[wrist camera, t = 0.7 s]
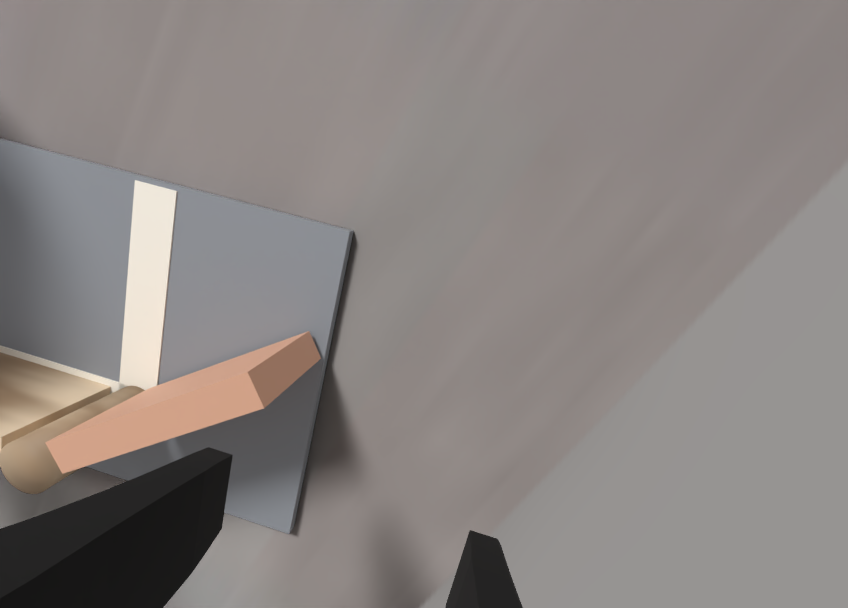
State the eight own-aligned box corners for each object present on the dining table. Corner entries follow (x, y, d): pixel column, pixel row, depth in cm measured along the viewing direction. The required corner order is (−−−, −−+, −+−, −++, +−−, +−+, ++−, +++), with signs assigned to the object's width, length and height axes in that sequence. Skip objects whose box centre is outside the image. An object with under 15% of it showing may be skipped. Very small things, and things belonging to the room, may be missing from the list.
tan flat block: (161, 413, 19) (62, 473, 14) (148, 388, 19) (44, 442, 14) (321, 358, 17) (264, 408, 13) (308, 331, 17) (247, 372, 13)
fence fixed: (-6, 380, 20) (-155, 431, 15) (-6, 341, 20) (-159, 381, 15) (155, 432, 19) (50, 501, 15) (159, 392, 19) (52, 450, 14)
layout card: (-7, 427, 21) (-20, 432, 21) (-7, 136, 18) (-23, 133, 17) (293, 526, 20) (288, 534, 19) (353, 230, 17) (349, 231, 16)
